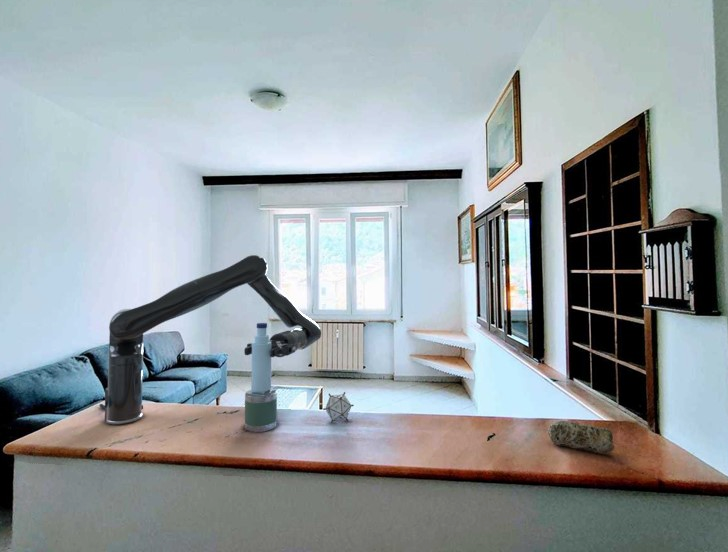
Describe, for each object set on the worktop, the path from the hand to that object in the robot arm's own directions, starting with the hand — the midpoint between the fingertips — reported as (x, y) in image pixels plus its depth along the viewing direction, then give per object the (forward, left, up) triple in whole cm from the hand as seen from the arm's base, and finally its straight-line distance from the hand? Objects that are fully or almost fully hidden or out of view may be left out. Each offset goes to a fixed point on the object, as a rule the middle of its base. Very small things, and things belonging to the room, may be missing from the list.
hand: (258, 352), depth 116 cm
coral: (+85, +15, -22) cm, 89 cm away
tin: (0, +2, -21) cm, 21 cm away
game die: (+20, +13, -22) cm, 32 cm away
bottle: (0, +2, -11) cm, 12 cm away
